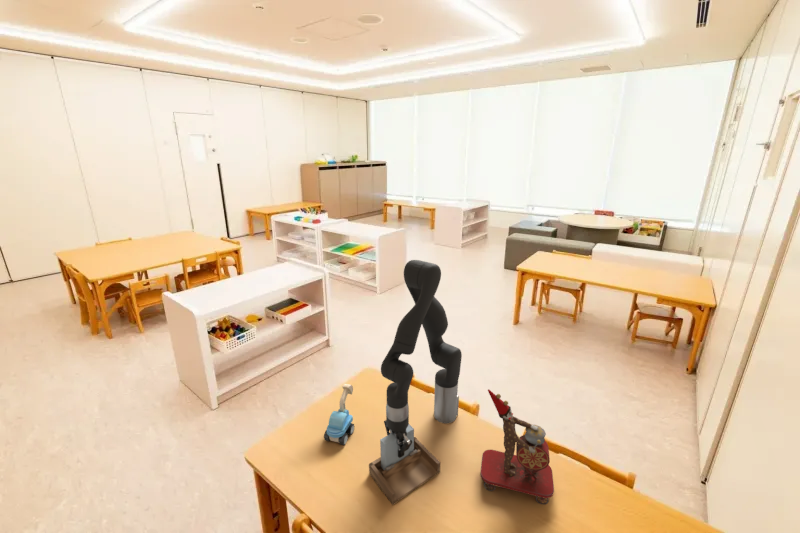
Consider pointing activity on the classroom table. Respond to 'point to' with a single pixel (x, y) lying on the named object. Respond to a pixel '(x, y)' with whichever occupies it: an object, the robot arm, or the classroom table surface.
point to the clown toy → (519, 458)
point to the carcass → (405, 473)
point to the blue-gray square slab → (394, 448)
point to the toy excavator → (340, 420)
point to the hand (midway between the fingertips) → (397, 452)
